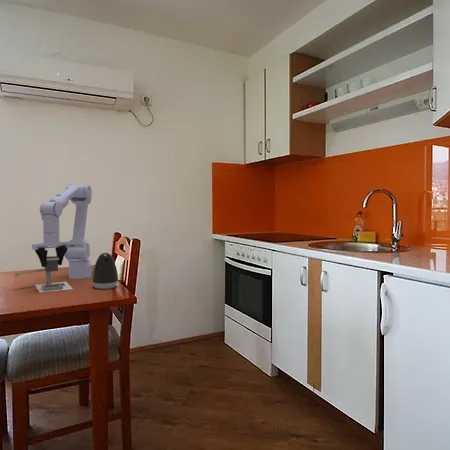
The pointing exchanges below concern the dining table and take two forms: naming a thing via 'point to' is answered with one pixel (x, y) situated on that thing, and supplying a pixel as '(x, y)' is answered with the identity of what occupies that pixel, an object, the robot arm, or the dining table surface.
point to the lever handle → (28, 272)
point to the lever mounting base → (52, 285)
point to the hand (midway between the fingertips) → (51, 265)
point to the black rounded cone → (105, 272)
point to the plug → (52, 264)
